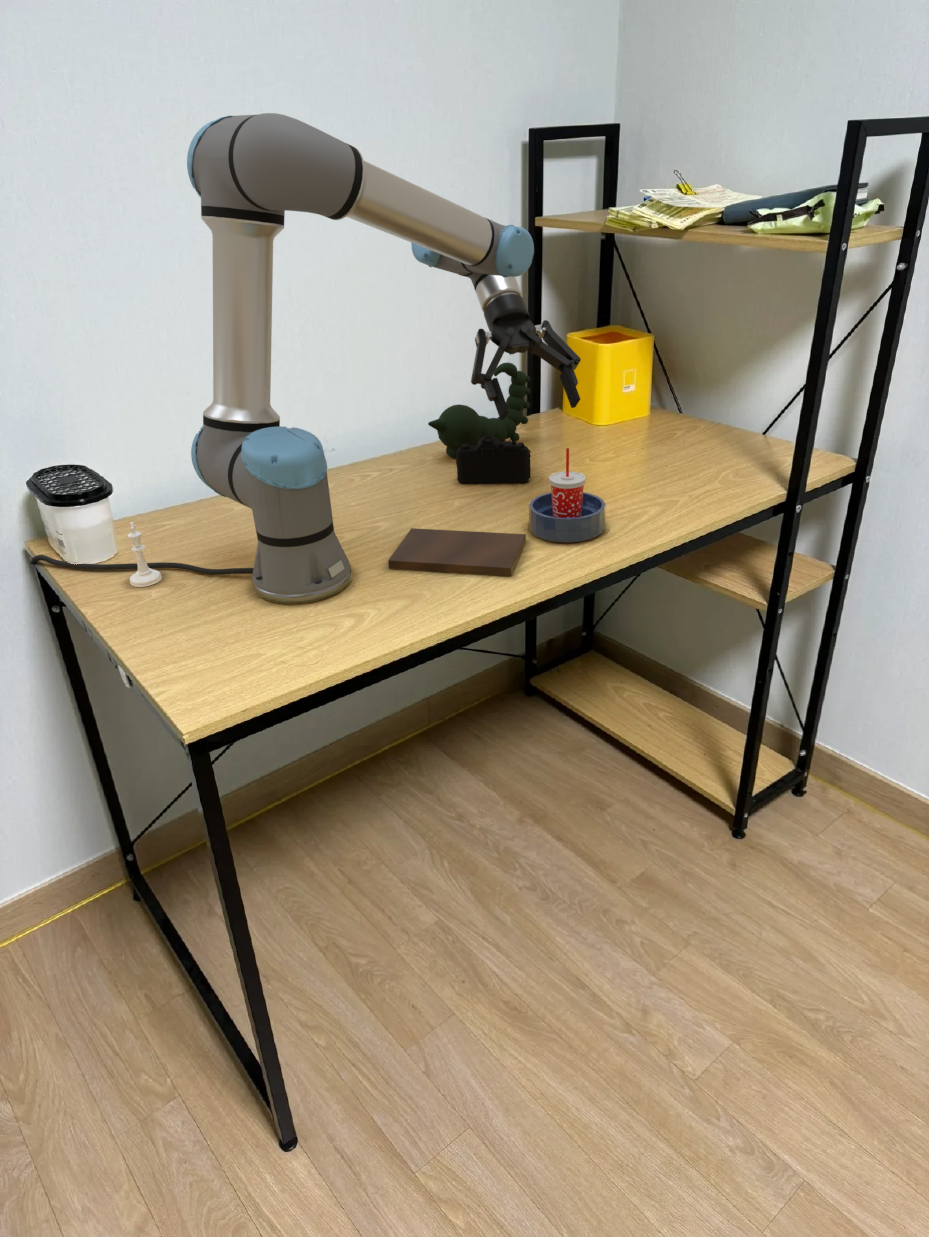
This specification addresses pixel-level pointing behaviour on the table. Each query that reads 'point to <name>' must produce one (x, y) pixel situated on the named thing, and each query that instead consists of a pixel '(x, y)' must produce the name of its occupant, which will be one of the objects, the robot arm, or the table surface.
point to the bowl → (567, 520)
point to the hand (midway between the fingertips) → (540, 409)
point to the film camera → (493, 462)
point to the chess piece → (141, 563)
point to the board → (458, 552)
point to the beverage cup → (567, 492)
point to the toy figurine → (469, 427)
